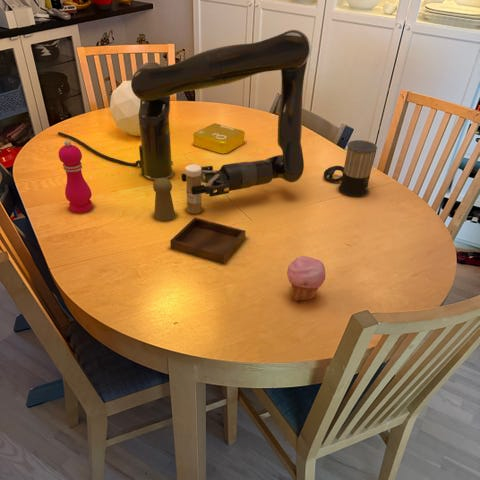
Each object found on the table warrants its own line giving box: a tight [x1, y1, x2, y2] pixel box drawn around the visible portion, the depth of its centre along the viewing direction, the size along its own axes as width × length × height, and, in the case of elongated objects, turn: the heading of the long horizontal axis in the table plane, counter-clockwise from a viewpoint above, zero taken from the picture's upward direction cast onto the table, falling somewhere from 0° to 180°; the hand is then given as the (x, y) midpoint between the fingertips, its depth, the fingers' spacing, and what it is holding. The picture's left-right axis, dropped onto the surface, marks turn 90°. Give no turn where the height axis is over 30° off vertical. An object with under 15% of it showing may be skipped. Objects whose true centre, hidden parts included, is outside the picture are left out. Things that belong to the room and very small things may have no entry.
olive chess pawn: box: [152, 178, 176, 222], centre depth 132 cm, size 6×6×11 cm
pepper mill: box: [58, 139, 93, 214], centre depth 131 cm, size 7×7×20 cm
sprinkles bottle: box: [184, 163, 203, 215], centre depth 135 cm, size 5×5×14 cm
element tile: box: [193, 122, 246, 155], centre depth 177 cm, size 15×15×5 cm
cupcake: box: [286, 255, 326, 302], centre depth 107 cm, size 9×9×10 cm
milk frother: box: [323, 139, 378, 197], centre depth 150 cm, size 14×16×15 cm
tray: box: [169, 217, 247, 265], centre depth 125 cm, size 16×14×2 cm
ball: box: [109, 79, 141, 137], centre depth 177 cm, size 19×20×20 cm
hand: (186, 184), depth 133 cm, fingers open, 8 cm apart
